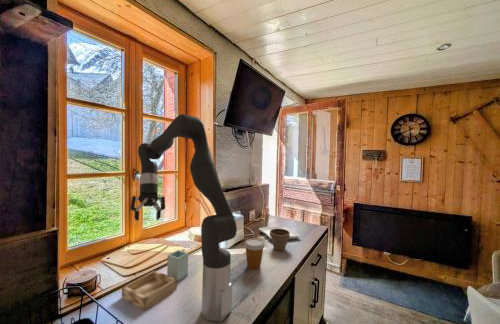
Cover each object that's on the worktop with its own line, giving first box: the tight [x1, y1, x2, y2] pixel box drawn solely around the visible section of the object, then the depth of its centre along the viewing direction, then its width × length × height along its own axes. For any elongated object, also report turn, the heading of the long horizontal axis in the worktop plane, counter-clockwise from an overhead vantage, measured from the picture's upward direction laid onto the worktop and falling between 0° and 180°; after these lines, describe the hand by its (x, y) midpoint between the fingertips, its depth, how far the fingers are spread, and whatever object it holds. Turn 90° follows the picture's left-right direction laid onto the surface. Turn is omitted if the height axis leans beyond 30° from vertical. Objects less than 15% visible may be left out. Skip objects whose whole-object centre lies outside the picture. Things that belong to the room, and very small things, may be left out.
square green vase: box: [166, 249, 189, 283], centre depth 96 cm, size 6×6×10 cm
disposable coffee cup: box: [244, 238, 265, 271], centre depth 107 cm, size 10×10×12 cm
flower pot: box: [270, 229, 290, 252], centre depth 128 cm, size 12×11×10 cm
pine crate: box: [121, 269, 178, 311], centre depth 84 cm, size 13×14×4 cm
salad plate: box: [258, 225, 301, 241], centre depth 150 cm, size 21×21×3 cm
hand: (147, 220), depth 98 cm, fingers open, 8 cm apart
